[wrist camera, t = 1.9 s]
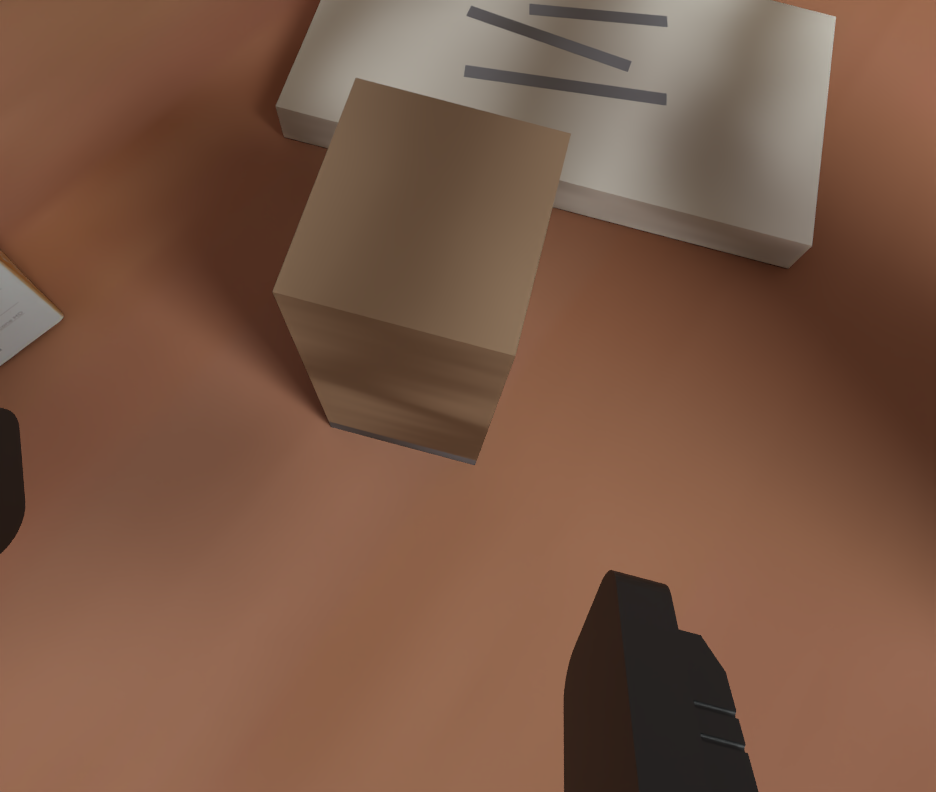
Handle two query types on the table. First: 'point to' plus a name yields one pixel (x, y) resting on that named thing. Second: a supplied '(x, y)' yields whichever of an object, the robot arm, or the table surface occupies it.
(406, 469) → the table surface
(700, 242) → the board
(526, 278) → the block
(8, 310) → the small box
